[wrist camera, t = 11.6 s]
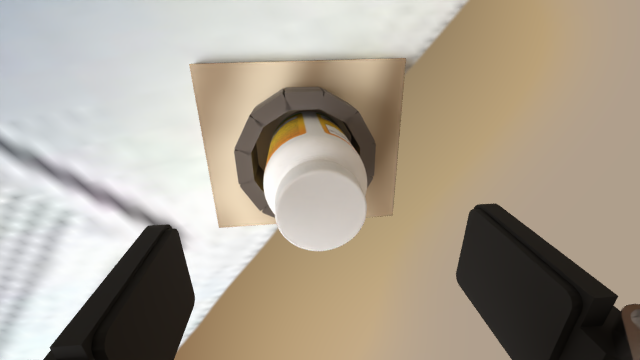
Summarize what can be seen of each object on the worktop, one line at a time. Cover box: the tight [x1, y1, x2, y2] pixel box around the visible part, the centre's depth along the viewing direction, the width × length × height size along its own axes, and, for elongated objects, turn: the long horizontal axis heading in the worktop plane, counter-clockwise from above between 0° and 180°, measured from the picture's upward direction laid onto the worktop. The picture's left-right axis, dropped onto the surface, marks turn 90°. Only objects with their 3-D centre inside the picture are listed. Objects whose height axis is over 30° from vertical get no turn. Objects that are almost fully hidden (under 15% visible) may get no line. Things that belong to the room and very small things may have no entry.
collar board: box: [189, 58, 406, 228], centre depth 21 cm, size 14×12×4 cm
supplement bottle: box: [263, 111, 367, 251], centre depth 17 cm, size 5×5×10 cm
